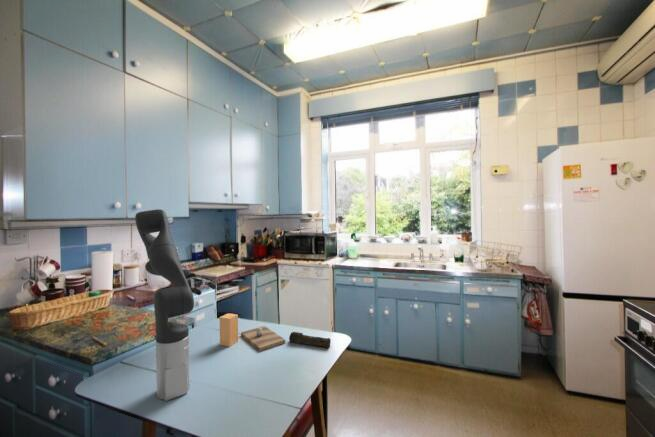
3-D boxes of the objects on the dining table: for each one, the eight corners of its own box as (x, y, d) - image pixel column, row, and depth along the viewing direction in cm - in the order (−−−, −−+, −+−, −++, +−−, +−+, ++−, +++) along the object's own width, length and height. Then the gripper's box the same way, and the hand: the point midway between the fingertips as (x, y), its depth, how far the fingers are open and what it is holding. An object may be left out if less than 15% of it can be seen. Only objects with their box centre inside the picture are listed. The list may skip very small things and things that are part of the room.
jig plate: (285, 342, 124) (285, 331, 124) (260, 351, 116) (259, 339, 116) (264, 328, 139) (264, 318, 139) (240, 335, 132) (240, 324, 132)
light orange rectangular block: (238, 341, 126) (237, 314, 125) (229, 346, 121) (229, 318, 120) (228, 339, 128) (228, 313, 127) (219, 344, 123) (219, 317, 122)
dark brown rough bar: (331, 346, 121) (331, 335, 121) (328, 350, 117) (328, 339, 117) (292, 339, 128) (292, 329, 128) (288, 343, 124) (288, 332, 124)
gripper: (169, 273, 124) (196, 287, 118) (196, 265, 137) (221, 278, 131) (167, 288, 125) (193, 303, 120) (193, 279, 138) (218, 292, 133)
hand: (208, 290), depth 126 cm, fingers open, 8 cm apart
